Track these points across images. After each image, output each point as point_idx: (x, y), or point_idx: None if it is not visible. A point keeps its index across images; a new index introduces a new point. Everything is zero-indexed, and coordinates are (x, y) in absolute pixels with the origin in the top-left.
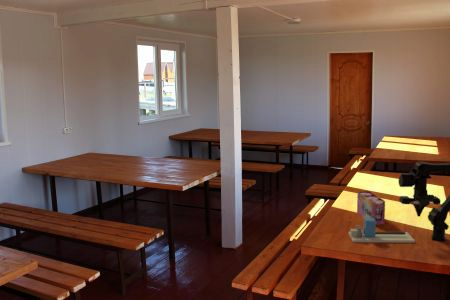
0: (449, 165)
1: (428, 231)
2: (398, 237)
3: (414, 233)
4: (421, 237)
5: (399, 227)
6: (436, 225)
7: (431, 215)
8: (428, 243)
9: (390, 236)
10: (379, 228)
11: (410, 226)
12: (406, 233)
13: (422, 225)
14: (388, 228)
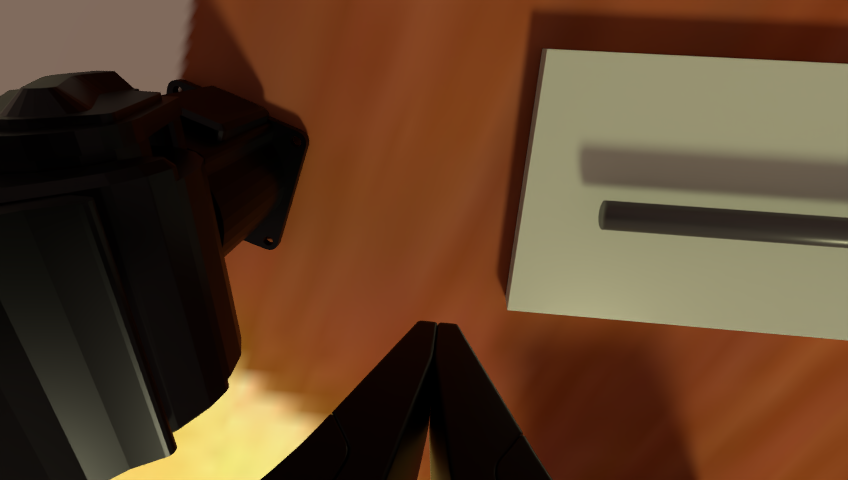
0: None
1: (277, 345)
2: (698, 163)
3: (420, 312)
4: (394, 210)
5: None
6: (164, 124)
7: (143, 339)
8: (384, 19)
9: (779, 200)
10: (685, 440)
11: None
12: (532, 276)
13: None
14: (602, 433)
